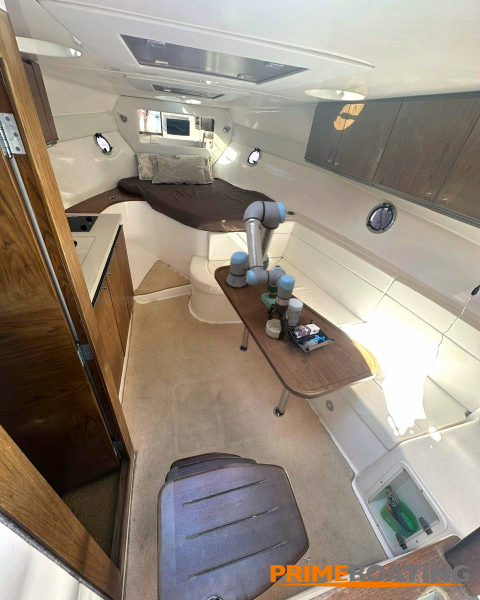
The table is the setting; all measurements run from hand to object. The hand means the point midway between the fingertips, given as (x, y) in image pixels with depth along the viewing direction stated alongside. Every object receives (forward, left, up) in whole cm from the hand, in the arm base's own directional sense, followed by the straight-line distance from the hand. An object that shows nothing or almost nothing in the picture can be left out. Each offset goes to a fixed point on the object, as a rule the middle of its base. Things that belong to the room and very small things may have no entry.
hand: (274, 331), depth 147 cm
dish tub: (-23, +16, 0) cm, 28 cm away
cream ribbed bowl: (0, 0, 0) cm, 0 cm away
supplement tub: (-4, +15, 0) cm, 15 cm away
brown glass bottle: (-31, +18, 0) cm, 36 cm away
